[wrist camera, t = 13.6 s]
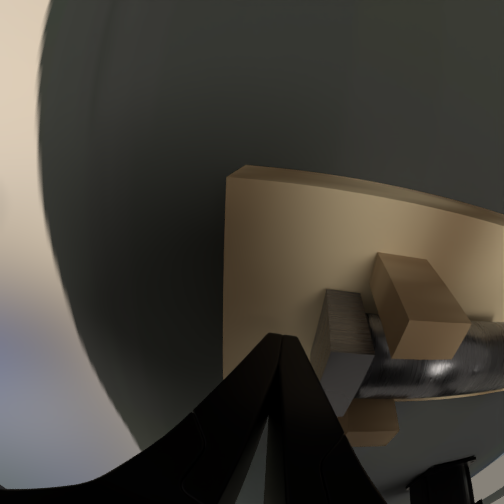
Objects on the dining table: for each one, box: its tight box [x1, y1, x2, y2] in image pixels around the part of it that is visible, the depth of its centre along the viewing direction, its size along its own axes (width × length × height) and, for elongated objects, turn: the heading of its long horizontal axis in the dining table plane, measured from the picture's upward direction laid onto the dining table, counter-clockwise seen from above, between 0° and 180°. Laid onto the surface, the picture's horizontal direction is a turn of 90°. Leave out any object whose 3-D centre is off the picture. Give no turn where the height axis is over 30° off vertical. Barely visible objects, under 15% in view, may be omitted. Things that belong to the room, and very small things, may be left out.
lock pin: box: [310, 289, 504, 417], centre depth 7 cm, size 7×2×2 cm, turn 86°
